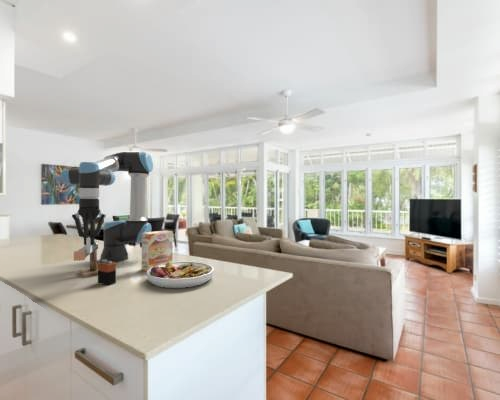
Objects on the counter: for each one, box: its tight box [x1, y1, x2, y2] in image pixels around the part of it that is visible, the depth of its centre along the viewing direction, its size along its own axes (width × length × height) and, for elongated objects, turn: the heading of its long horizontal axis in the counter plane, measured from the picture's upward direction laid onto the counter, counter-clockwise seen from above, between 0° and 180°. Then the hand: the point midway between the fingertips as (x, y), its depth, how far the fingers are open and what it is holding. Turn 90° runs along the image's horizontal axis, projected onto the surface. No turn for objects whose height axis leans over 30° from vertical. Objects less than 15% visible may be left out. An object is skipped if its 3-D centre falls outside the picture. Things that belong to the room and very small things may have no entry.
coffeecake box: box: [140, 230, 174, 272], centre depth 148 cm, size 15×7×20 cm, turn 143°
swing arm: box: [73, 241, 99, 262], centre depth 125 cm, size 4×26×4 cm, turn 17°
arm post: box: [78, 249, 98, 279], centre depth 136 cm, size 10×10×12 cm
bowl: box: [146, 261, 215, 289], centre depth 129 cm, size 30×30×8 cm
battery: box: [97, 260, 117, 286], centre depth 122 cm, size 4×7×10 cm, turn 63°
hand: (89, 252), depth 120 cm, fingers closed
